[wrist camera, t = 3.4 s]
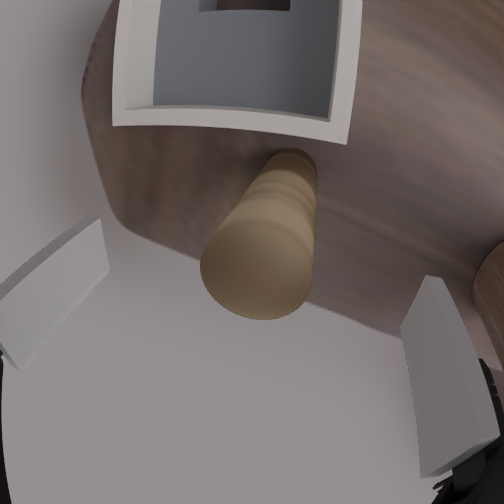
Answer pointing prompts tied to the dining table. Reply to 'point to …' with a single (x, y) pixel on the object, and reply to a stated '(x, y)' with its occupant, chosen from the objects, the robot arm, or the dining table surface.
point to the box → (238, 66)
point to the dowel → (266, 242)
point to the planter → (492, 297)
